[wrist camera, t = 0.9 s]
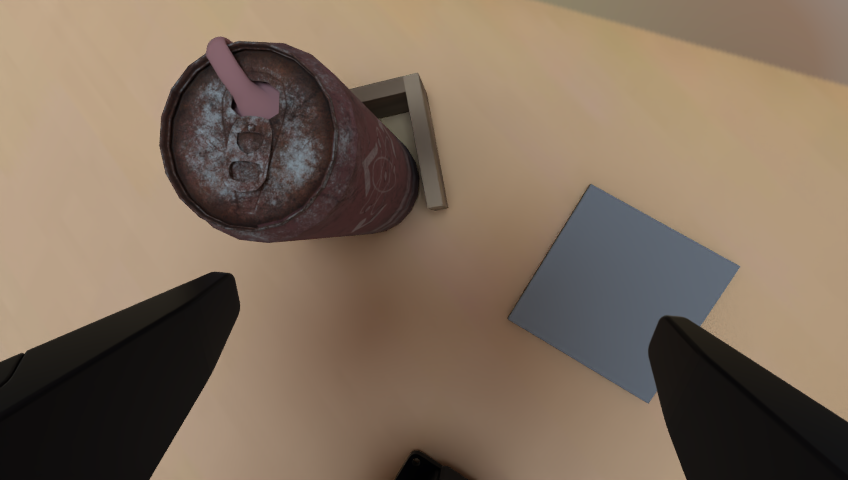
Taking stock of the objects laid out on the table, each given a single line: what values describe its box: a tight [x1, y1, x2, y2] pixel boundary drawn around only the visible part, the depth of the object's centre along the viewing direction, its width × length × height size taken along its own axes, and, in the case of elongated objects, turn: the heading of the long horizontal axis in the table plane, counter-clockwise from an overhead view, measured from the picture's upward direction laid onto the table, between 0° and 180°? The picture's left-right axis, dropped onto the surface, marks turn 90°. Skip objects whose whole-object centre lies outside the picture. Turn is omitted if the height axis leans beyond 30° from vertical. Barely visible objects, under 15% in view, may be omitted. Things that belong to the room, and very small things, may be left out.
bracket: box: [349, 73, 448, 210], centre depth 24 cm, size 7×9×4 cm
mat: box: [508, 184, 740, 403], centre depth 24 cm, size 9×9×1 cm
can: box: [159, 37, 419, 243], centre depth 19 cm, size 6×6×14 cm
